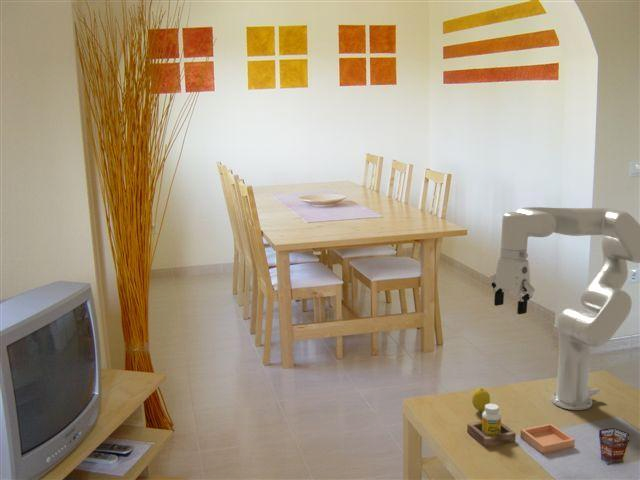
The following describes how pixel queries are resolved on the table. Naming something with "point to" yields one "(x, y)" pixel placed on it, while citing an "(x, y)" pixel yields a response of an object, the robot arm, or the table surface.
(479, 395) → the lemon
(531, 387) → the table surface
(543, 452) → the dish
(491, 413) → the supplement bottle
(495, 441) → the tray
